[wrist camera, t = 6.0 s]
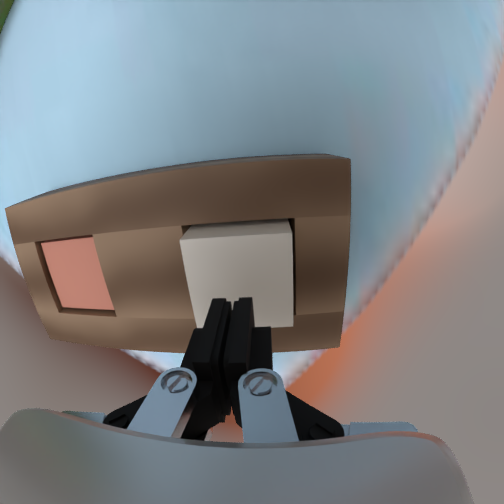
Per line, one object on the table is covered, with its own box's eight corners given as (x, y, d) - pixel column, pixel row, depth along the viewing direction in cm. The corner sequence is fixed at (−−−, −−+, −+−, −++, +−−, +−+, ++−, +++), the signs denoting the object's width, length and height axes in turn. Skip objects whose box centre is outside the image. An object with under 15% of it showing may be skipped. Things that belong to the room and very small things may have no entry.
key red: (73, 224, 20) (41, 243, 16) (123, 217, 20) (93, 237, 15) (89, 281, 22) (62, 307, 18) (138, 280, 22) (114, 309, 17)
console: (49, 191, 20) (4, 208, 14) (325, 153, 18) (350, 158, 13) (80, 304, 24) (50, 338, 19) (324, 300, 23) (339, 347, 17)
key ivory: (199, 216, 17) (179, 239, 13) (285, 210, 17) (292, 232, 13) (210, 290, 19) (197, 329, 15) (287, 286, 19) (293, 326, 15)
